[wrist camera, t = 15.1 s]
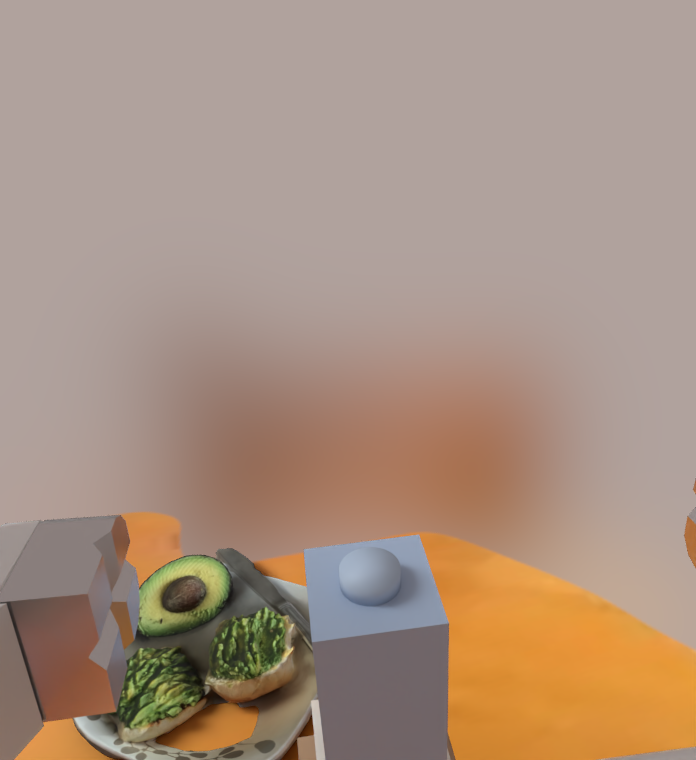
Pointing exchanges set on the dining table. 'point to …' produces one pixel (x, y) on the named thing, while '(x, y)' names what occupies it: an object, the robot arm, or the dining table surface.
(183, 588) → the salad plate
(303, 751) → the tower base
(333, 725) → the blue brick
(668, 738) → the dining table surface
